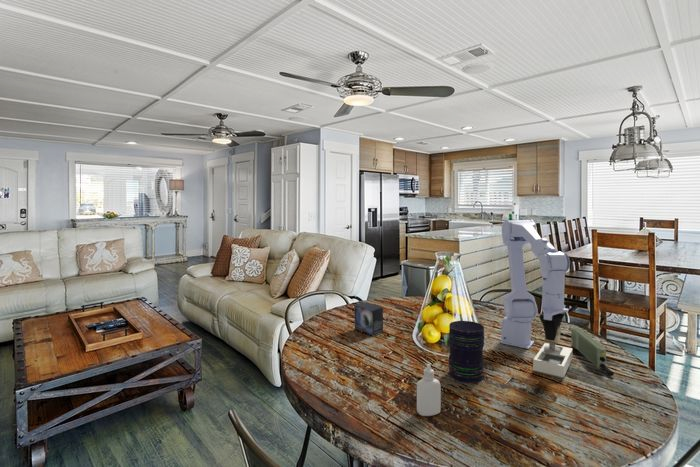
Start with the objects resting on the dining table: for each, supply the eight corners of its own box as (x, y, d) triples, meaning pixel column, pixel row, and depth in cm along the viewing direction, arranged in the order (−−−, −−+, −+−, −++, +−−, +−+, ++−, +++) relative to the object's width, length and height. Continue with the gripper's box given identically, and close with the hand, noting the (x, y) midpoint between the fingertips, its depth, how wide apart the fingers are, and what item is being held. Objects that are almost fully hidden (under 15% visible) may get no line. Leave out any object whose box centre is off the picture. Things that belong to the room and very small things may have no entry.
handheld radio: (580, 345, 133) (618, 378, 108) (570, 345, 133) (605, 378, 109) (580, 327, 132) (618, 355, 108) (570, 327, 133) (605, 355, 108)
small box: (353, 330, 151) (353, 304, 150) (365, 326, 156) (364, 301, 155) (372, 336, 144) (372, 309, 143) (383, 332, 148) (383, 306, 147)
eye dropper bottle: (417, 406, 95) (417, 359, 94) (440, 408, 93) (441, 362, 92) (416, 415, 91) (416, 367, 90) (440, 418, 89) (440, 369, 88)
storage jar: (483, 370, 114) (484, 322, 113) (483, 385, 105) (484, 333, 103) (449, 366, 117) (450, 319, 116) (447, 380, 108) (447, 329, 107)
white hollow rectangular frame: (563, 378, 108) (563, 366, 108) (533, 371, 113) (533, 359, 113) (572, 359, 120) (572, 348, 120) (544, 353, 125) (544, 342, 125)
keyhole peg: (542, 353, 113) (543, 327, 112) (545, 348, 116) (546, 323, 115) (559, 356, 110) (559, 330, 109) (561, 351, 113) (562, 326, 113)
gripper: (564, 300, 103) (562, 348, 105) (572, 289, 115) (571, 333, 116) (536, 296, 108) (534, 342, 109) (546, 286, 119) (545, 328, 120)
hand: (551, 337), depth 113 cm, fingers closed on keyhole peg, 3 cm apart
